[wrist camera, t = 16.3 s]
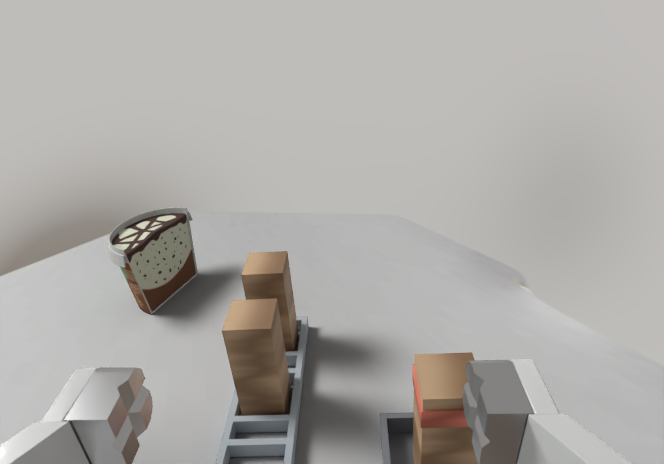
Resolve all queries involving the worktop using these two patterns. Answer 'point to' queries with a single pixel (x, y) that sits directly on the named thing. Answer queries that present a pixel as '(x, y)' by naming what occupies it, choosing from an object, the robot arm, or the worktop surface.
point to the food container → (154, 255)
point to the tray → (397, 438)
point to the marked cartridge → (441, 410)
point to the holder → (268, 417)
